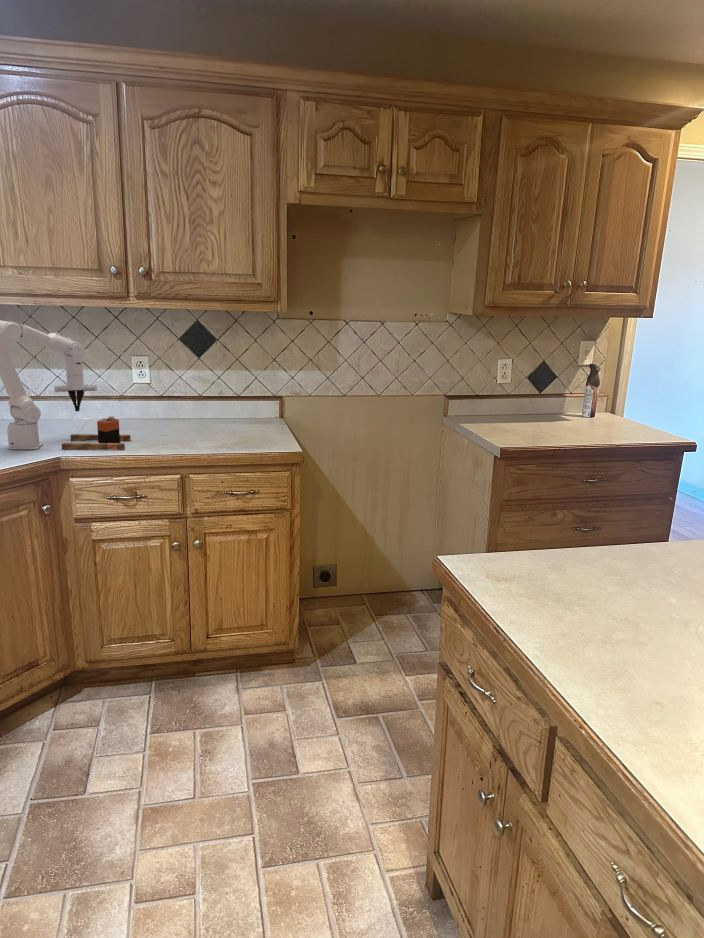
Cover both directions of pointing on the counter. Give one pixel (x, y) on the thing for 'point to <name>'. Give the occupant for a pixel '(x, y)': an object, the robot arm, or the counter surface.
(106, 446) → the guide channel
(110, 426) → the battery
